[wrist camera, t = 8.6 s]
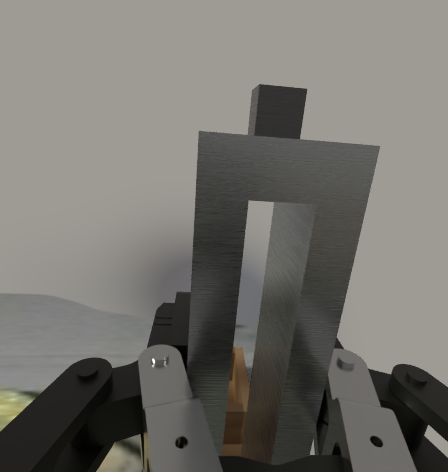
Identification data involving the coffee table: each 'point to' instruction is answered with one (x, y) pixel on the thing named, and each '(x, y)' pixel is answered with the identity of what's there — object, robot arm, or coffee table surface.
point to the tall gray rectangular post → (274, 268)
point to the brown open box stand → (236, 405)
